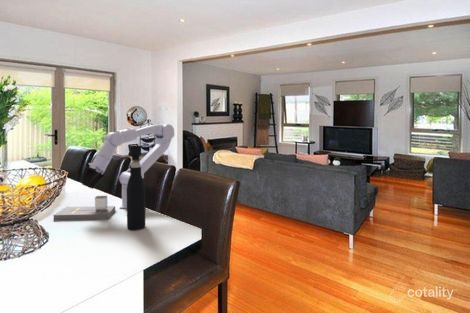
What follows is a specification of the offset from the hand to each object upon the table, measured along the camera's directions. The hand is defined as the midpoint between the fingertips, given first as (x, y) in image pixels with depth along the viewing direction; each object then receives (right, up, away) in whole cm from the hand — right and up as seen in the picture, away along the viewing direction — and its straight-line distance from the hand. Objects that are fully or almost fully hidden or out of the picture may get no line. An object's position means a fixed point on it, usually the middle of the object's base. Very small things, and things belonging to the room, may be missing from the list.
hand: (87, 186), depth 126 cm
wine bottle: (+25, -14, -14) cm, 32 cm away
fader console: (0, -12, -1) cm, 12 cm away
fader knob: (+6, -9, 0) cm, 11 cm away
